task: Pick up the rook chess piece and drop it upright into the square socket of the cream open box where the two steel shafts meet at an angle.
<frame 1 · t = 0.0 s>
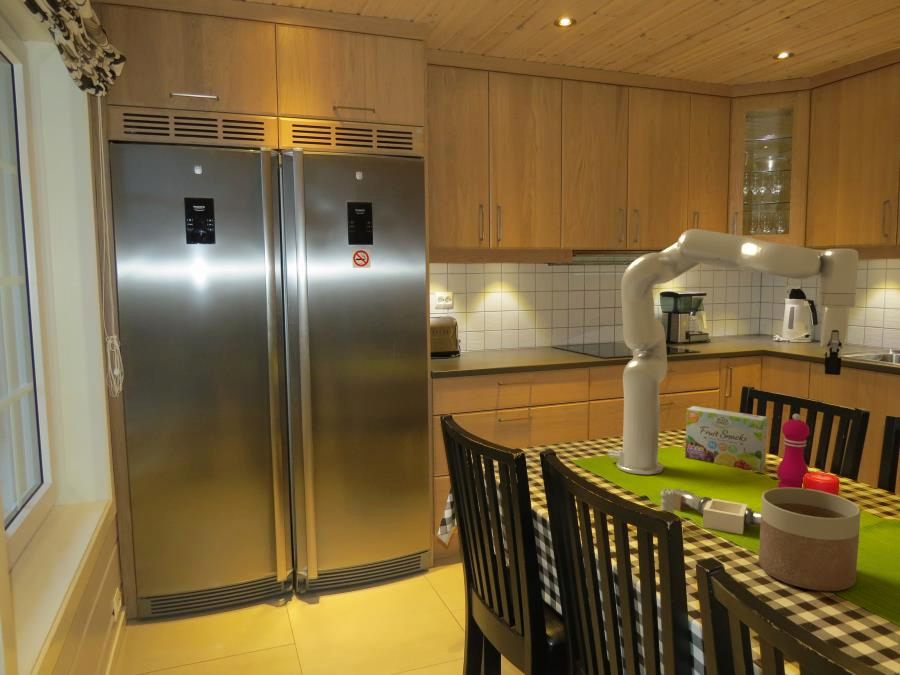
hand: (832, 371, 158), 31 cm above the table, tool pointing down, fingers open, 9 cm apart
snack box: (723, 463, 189), on the table
shaft b: (691, 501, 152), on the table
cream open box: (724, 524, 144), on the table
rook chess piece: (666, 526, 144), on the table
pepper mill: (791, 492, 165), on the table
shaft a: (768, 522, 140), on the table
planter: (805, 574, 122), on the table
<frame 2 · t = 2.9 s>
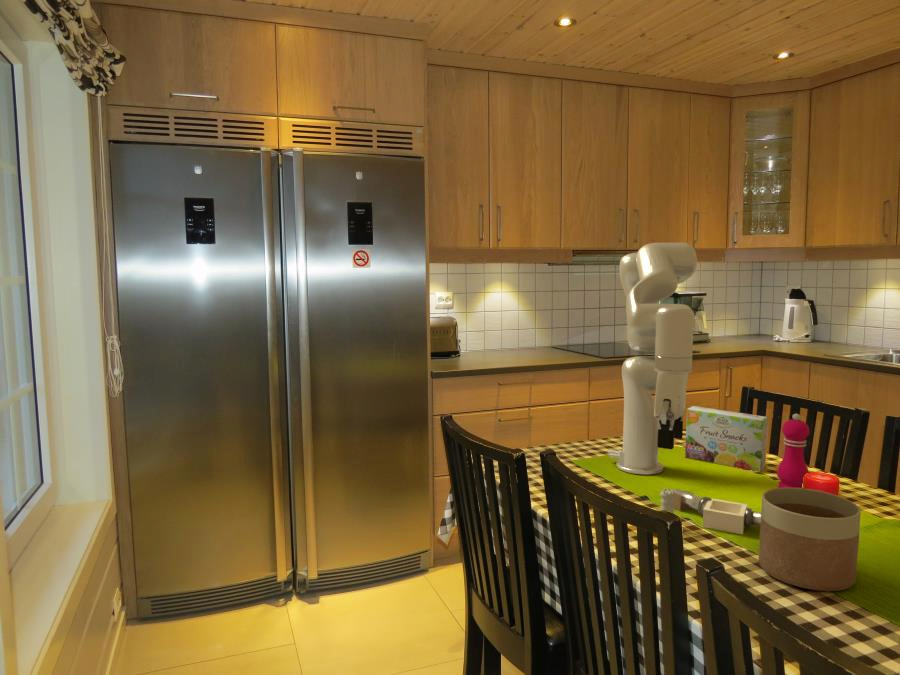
hand: (670, 442, 141), 19 cm above the table, tool pointing down, fingers open, 9 cm apart
nothing on the table moved.
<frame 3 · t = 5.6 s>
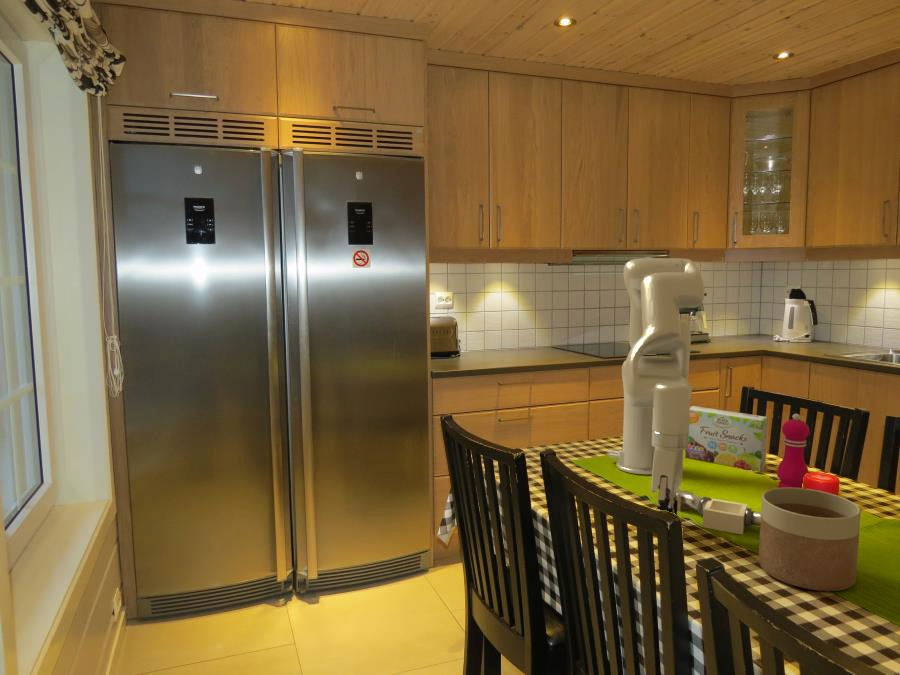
hand: (666, 519, 143), 1 cm above the table, tool pointing down, fingers closed on rook chess piece, 4 cm apart
rook chess piece: (666, 526, 144), on the table, touching gripper
everything else where it was.
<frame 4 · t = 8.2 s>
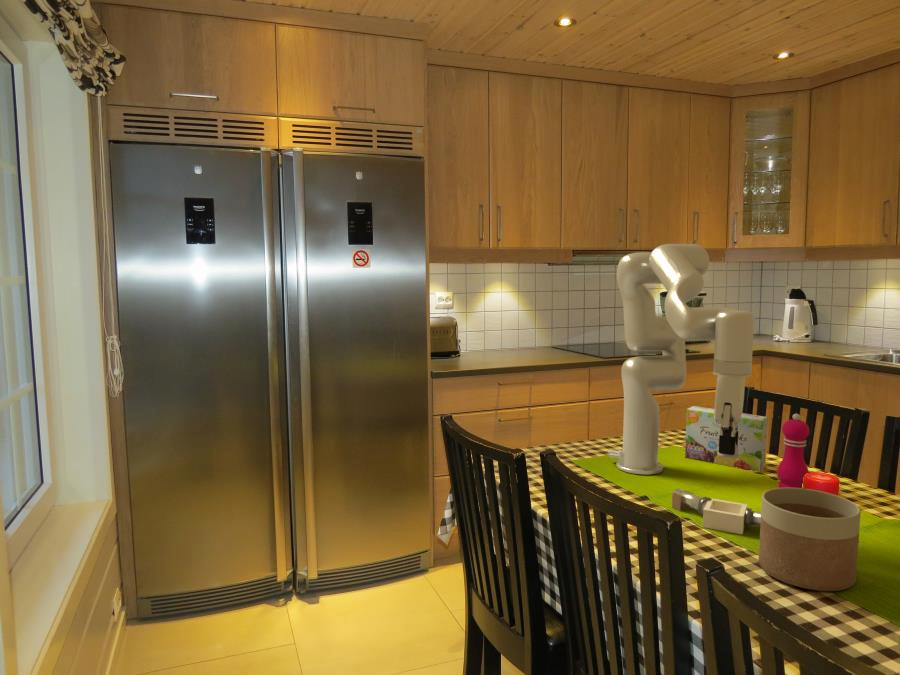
hand: (728, 450, 142), 17 cm above the table, tool pointing down, fingers closed on rook chess piece, 4 cm apart
rook chess piece: (727, 457, 143), point 15 cm above the table, touching gripper
everything else where it was.
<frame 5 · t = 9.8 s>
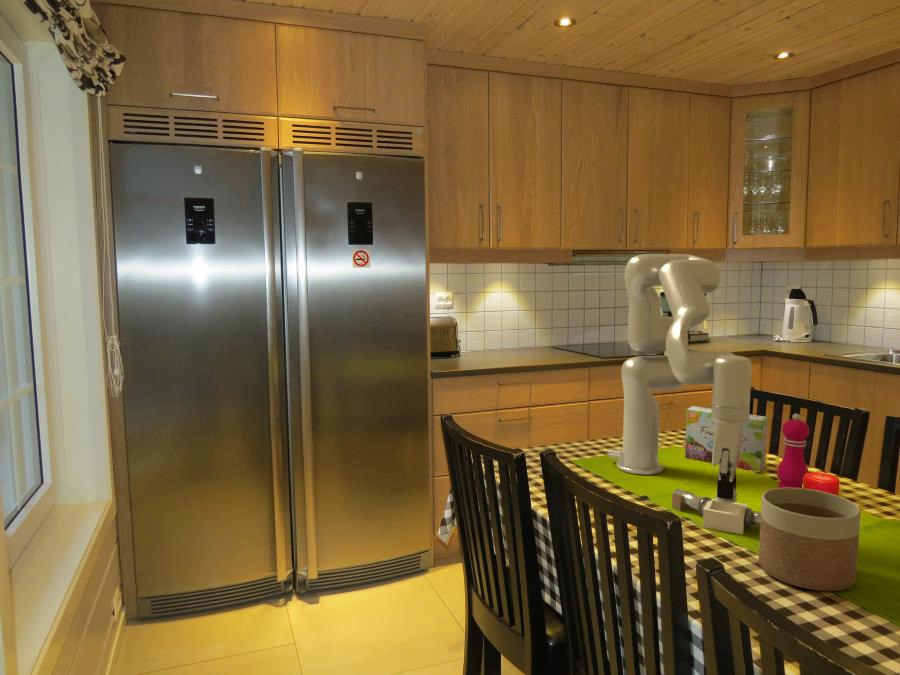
hand: (726, 494, 143), 7 cm above the table, tool pointing down, fingers closed on rook chess piece, 4 cm apart
rook chess piece: (726, 500, 144), point 5 cm above the table, touching gripper
everything else where it was.
when the fingers open (5 cm above the table, at t = 11.0 s): rook chess piece drops 2 cm, resting on cream open box.
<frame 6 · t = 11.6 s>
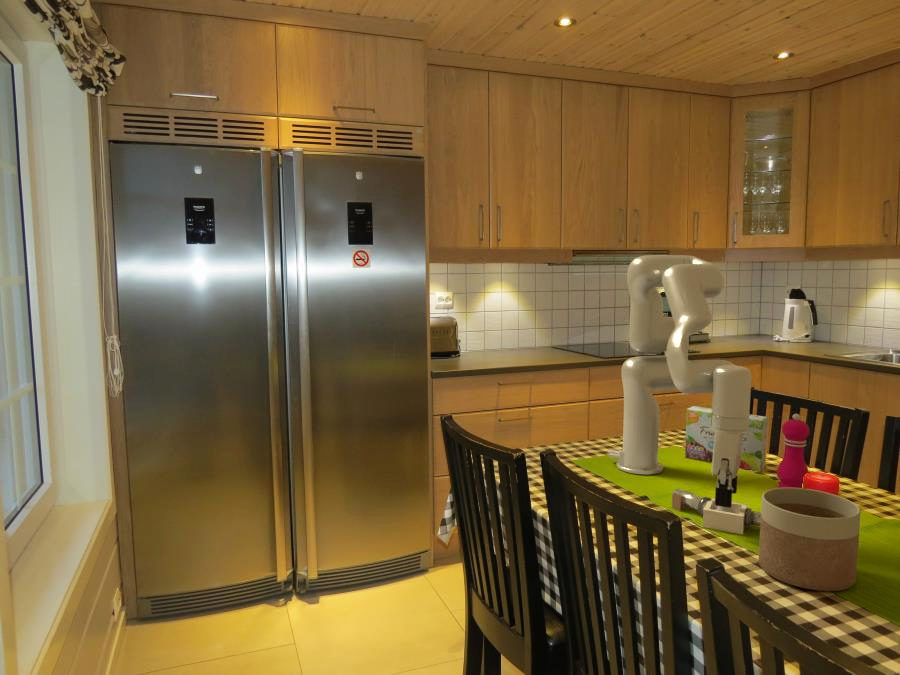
hand: (726, 499, 144), 6 cm above the table, tool pointing down, fingers open, 9 cm apart
rook chess piece: (724, 520, 144), point 1 cm above the table, touching cream open box
everything else where it was.
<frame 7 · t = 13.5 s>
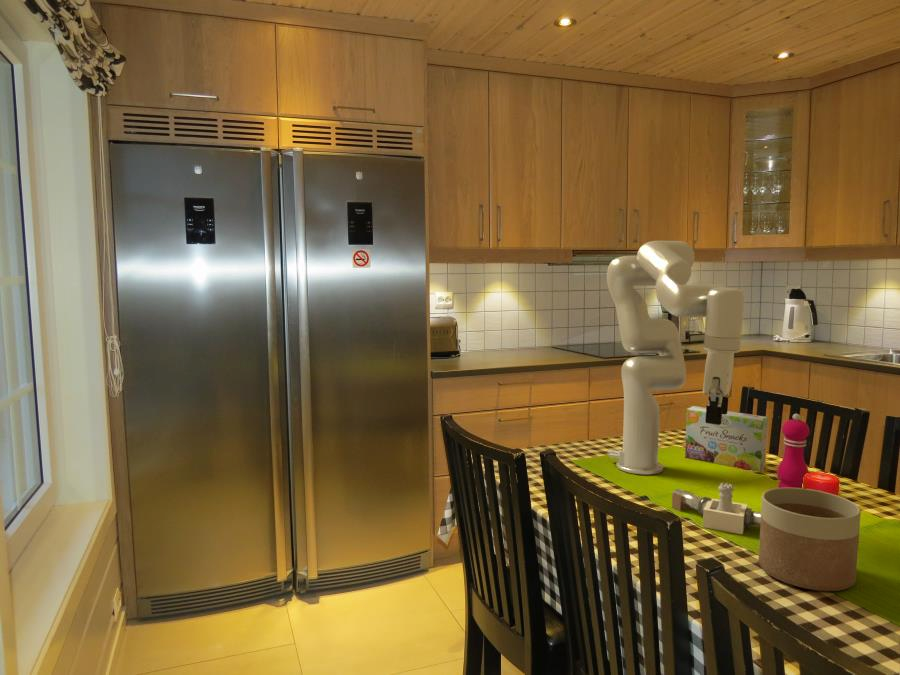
hand: (716, 418, 148), 22 cm above the table, tool pointing down, fingers open, 9 cm apart
nothing on the table moved.
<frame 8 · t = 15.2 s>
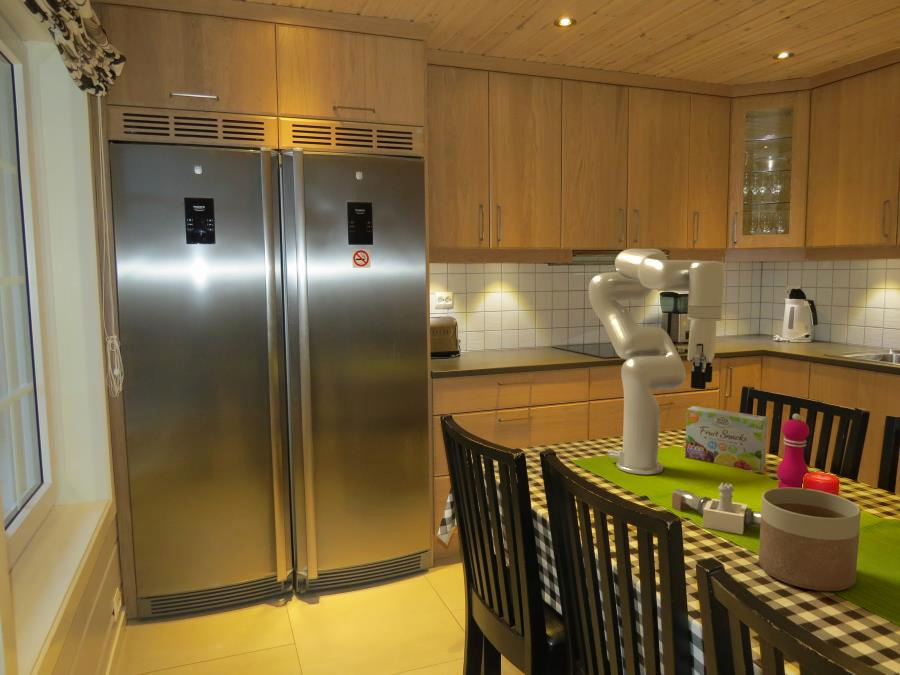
hand: (701, 385, 156), 28 cm above the table, tool pointing down, fingers open, 9 cm apart
nothing on the table moved.
at the end: rook chess piece 0.2 cm off-centre on the cream open box, point 0.8 cm above the cream open box's base; rook chess piece tilted 0°; the gripper is holding nothing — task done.
